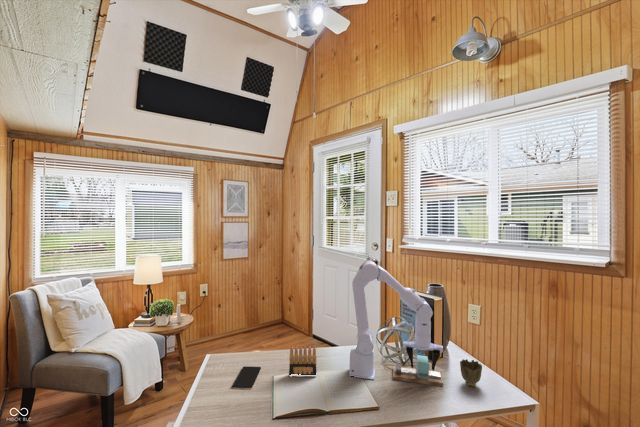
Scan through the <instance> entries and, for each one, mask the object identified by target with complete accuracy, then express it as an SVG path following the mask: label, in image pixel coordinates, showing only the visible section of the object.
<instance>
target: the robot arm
mask: <svg viewBox="0 0 640 427" xmlns="http://www.w3.org/2000/svg"><path fill="white" fill-rule="evenodd" d="M374 280H375V281H377V282H384V283H385V284H387V285H388V286H389V287H390V288H392V289H393V290H394V291H395V292H396V293H397V294H398V295H399V300H401V301H402V302H403V303H404V304H405V305H406V306H407V307H408V308H409V309H411V310H412V311H414V312H415V321H414V322H415V325H414V328H415V329H414V330H415V331H414V340H412V341H411V340H410V341H402V342H403V343H402V344H403V346H402V348H403V349H405V351H406V355H407V356H408V358H409V362H410V367H411V368H414V351H413V350H421V351H424V352H426V351H430V352H431V356H432V357H431V370H432V371H434V370H435V368H436V365H437V362H438V360H439V358H440V357H441V353H444V346H443V345H440V344H437V343H436V344H435V343H432V342H431V340H432V338H431V335H432V334H431V329H432V321H431V318H432V317H433V314H434V311H433V309H432V307H431V306H430V304H429V303H428V302H427V300H426V299H425V298H423V297H420V295H418V294H417V293H416V289H414V288H410V287H404V286H403V285H402V284H401V283H400V282H399V281H398V280H397V279H396V278H395V277H393V275H391V274H390V273H389V271H387V270H386V269H384V268H383V267H382V266H380V265H379V264H377V263H376V262H374V261H373V260H365V261H364V262H362V263H361V265H360V266H359V267H358V270H357V272H356V274H355V276H354V277H353V280H352V293H353V301H354V309H355V310H354V311H355V317H356V327H357V328H356V329H357V334H356V347H355V348H352V349H350V352H349V374H348V376H349V377H351V376H354V377H353V378H360V379H365V380H366V379H367V380H374V379H375V377H376V376H375V374H376V368H375V349H374V343H373V334H372V333H371V332H370V327H369V318H368V310H367V302H366V301H367V300H366V294H365V292H366V291H365V288H366V286H367V285H368V284H369V283H371V282H372V281H374Z"/></svg>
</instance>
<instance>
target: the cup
mask: <svg viewBox="0 0 640 427" xmlns="http://www.w3.org/2000/svg"><path fill="white" fill-rule="evenodd" d="M459 364H460V365H459V366H460V367H459V368H460V373H461V376H462V379H464V382H465V385H466V386H467V387H470V388H475V387H476V386H477V384H478V383H479V381H480V380H481V377H482V373H483V372H482V370H483V365H482V364H481V363H479V362H478V361H475V360H474V359H472V360H471V361H469V360H468V359H462V360H460V361H459Z"/></svg>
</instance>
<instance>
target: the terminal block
mask: <svg viewBox="0 0 640 427" xmlns="http://www.w3.org/2000/svg"><path fill="white" fill-rule="evenodd" d="M416 368H417V374H418V378H423V379H429V370H430V363H429V357H428V356H427V355H419V354H418V355H417V354H416Z"/></svg>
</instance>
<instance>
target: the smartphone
mask: <svg viewBox="0 0 640 427" xmlns="http://www.w3.org/2000/svg"><path fill="white" fill-rule="evenodd" d="M261 370H262V367H261V366H246V365H245V366H244V365H243V367H242V368H241V370H240V372H239V373H238V375H237V377H236V379H235V380H234V382H233V383H232V385H231V388H232V389H233V390H234V389H236V390H252V389H253V388H254V385H255V383H256V381H257V378H259V375H260V374H261V373H260V372H261Z"/></svg>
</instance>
